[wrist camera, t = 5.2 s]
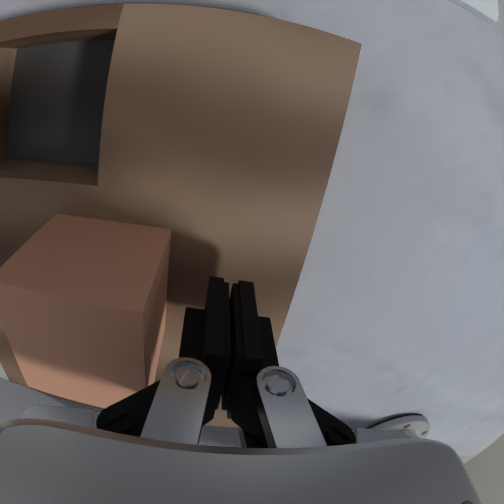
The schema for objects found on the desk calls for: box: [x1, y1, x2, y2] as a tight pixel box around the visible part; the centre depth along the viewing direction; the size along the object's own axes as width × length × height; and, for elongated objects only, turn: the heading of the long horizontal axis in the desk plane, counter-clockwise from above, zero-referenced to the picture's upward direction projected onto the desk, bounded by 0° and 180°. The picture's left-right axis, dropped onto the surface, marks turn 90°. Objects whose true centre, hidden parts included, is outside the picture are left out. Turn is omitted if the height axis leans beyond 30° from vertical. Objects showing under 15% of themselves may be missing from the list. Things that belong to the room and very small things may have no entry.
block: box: [0, 214, 172, 408], centre depth 10 cm, size 5×5×5 cm
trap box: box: [0, 4, 361, 428], centre depth 13 cm, size 22×25×6 cm
